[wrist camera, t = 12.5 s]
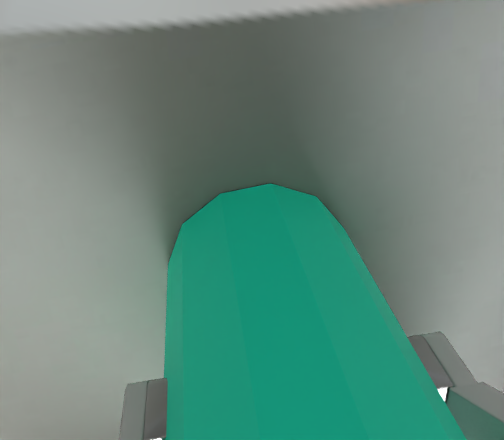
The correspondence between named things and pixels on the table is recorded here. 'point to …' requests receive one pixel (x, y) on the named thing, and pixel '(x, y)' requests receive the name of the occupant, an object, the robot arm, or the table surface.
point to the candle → (286, 331)
